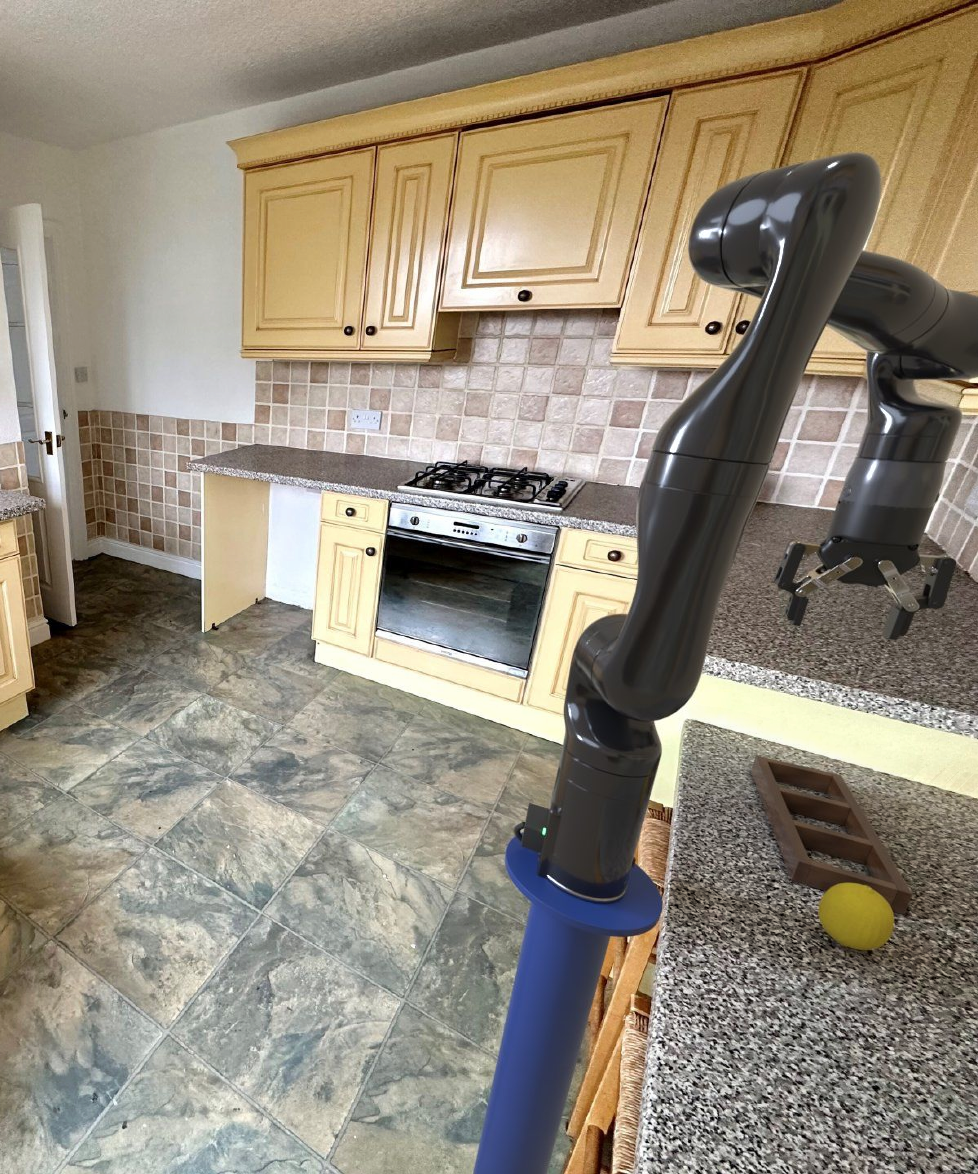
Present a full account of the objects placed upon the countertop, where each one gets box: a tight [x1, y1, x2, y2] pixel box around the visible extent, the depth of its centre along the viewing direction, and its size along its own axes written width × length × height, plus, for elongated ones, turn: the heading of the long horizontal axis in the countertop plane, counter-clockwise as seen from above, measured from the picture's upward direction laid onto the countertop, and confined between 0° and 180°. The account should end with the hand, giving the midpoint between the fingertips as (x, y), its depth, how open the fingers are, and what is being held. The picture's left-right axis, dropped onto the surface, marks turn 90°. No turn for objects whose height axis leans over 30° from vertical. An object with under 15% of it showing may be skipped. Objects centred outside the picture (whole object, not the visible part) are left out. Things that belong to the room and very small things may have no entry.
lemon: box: [817, 883, 895, 951], centre depth 68 cm, size 6×6×8 cm
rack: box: [750, 754, 914, 915], centre depth 86 cm, size 10×27×3 cm, turn 148°
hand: (840, 630), depth 77 cm, fingers open, 8 cm apart
